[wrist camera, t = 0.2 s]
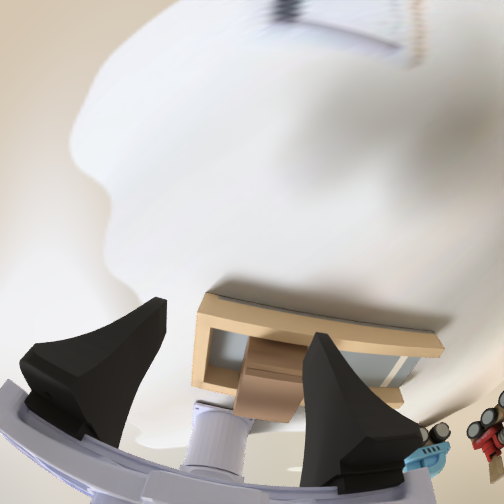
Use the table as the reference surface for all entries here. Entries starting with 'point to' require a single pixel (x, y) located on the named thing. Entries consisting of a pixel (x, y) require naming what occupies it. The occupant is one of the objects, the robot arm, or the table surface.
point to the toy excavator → (430, 450)
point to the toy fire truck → (490, 437)
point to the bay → (302, 332)
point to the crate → (270, 380)
